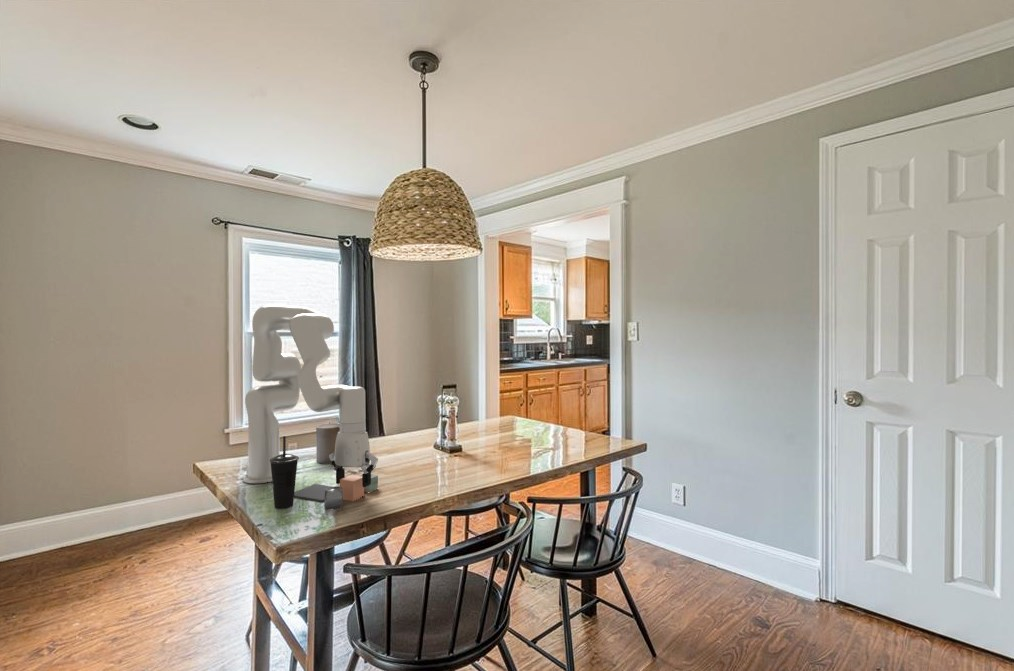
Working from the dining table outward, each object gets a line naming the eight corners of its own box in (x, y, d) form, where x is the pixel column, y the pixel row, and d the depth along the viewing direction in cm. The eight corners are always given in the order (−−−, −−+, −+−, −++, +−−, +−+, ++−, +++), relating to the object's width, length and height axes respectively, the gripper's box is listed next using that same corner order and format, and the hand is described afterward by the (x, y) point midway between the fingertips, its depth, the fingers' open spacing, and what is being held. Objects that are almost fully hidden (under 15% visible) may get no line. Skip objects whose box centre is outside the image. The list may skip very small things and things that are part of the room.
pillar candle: (346, 457, 193) (346, 420, 193) (335, 464, 183) (335, 424, 183) (323, 457, 194) (323, 419, 194) (311, 463, 184) (311, 424, 184)
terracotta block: (339, 499, 145) (339, 479, 145) (350, 494, 150) (350, 474, 150) (353, 501, 143) (353, 481, 143) (364, 496, 148) (364, 476, 148)
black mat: (288, 496, 147) (288, 494, 147) (314, 485, 157) (314, 483, 157) (322, 502, 142) (322, 500, 142) (347, 490, 153) (347, 488, 153)
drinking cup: (302, 501, 143) (303, 433, 143) (292, 510, 135) (292, 439, 135) (276, 501, 143) (276, 433, 143) (264, 510, 135) (264, 439, 135)
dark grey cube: (320, 508, 138) (320, 490, 138) (332, 502, 142) (332, 485, 142) (334, 510, 136) (334, 492, 136) (346, 504, 141) (346, 487, 141)
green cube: (357, 491, 152) (357, 477, 152) (366, 487, 156) (366, 473, 156) (369, 493, 151) (369, 479, 151) (377, 489, 155) (377, 475, 155)
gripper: (321, 428, 146) (321, 485, 146) (368, 431, 140) (369, 491, 140) (338, 424, 153) (338, 478, 153) (384, 427, 147) (384, 483, 147)
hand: (353, 484), depth 146 cm, fingers open, 9 cm apart
